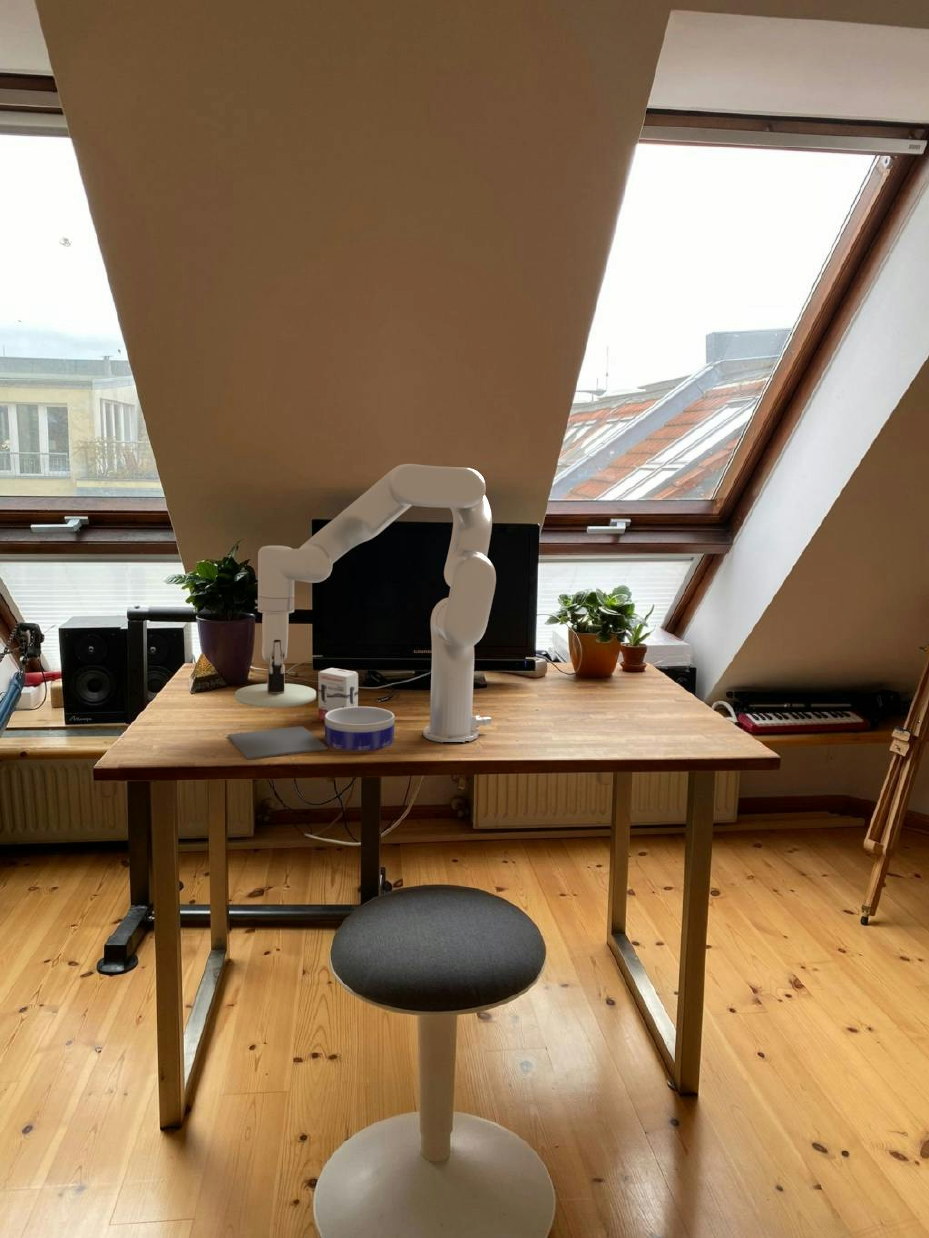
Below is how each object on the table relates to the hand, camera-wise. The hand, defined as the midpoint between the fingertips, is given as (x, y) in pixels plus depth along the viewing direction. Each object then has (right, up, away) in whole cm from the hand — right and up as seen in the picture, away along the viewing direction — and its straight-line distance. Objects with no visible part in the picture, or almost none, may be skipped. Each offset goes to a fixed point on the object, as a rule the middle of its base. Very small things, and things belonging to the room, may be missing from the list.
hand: (275, 688), depth 185 cm
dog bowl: (+17, -12, +6) cm, 22 cm away
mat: (0, -12, +2) cm, 12 cm away
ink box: (+10, -9, +22) cm, 26 cm away
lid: (0, -2, 0) cm, 2 cm away
